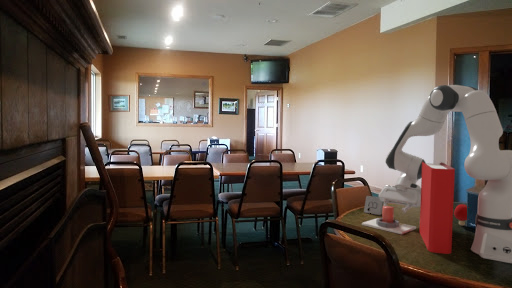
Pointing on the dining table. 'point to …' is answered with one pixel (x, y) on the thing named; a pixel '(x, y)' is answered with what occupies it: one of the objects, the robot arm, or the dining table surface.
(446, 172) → the book
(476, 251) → the robot arm
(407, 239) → the dining table surface
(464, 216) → the red mushroom
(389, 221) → the lockout cap
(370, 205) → the electrical switch
